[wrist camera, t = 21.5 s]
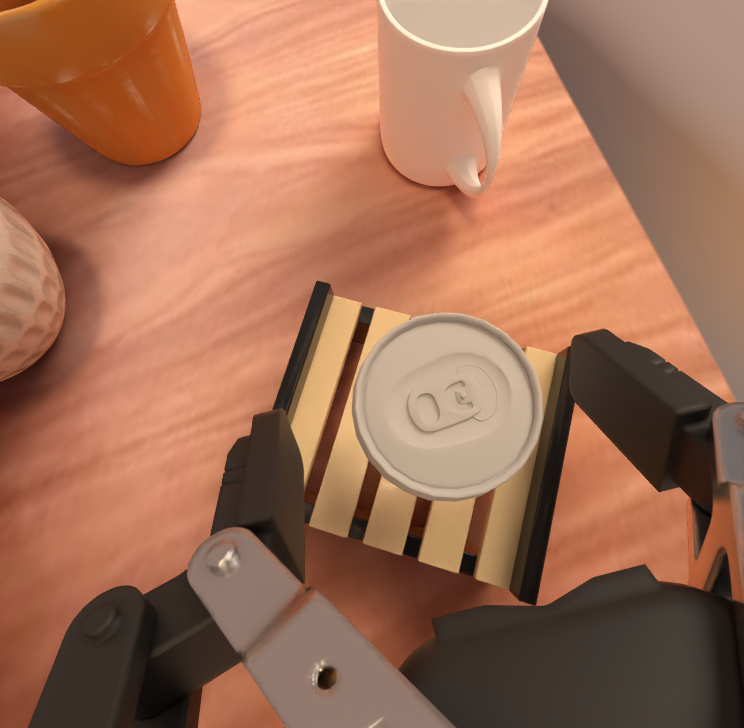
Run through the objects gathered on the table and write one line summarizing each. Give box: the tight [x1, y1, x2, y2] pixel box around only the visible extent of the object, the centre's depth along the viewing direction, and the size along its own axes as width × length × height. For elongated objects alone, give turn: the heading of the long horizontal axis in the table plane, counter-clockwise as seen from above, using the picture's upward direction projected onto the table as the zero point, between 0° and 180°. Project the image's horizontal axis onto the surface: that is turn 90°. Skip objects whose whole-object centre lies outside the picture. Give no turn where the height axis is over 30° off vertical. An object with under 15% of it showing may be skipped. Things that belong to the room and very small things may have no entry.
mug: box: [377, 0, 548, 197], centre depth 26 cm, size 9×12×11 cm
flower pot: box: [0, 0, 201, 165], centre depth 27 cm, size 14×14×13 cm
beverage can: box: [352, 312, 543, 502], centre depth 16 cm, size 5×5×12 cm
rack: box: [272, 281, 575, 606], centre depth 24 cm, size 14×12×7 cm
